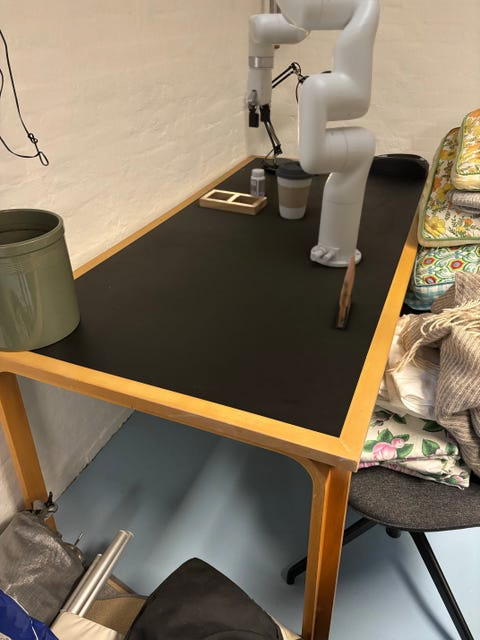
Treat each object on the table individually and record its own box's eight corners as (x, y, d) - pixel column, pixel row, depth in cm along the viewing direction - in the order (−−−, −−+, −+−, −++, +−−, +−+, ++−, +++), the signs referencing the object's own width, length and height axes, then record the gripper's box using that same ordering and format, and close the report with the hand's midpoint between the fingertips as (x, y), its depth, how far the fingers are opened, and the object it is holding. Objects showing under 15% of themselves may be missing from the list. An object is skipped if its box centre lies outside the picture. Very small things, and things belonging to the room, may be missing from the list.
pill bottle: (263, 193, 170) (264, 168, 166) (264, 197, 166) (266, 172, 162) (250, 193, 170) (250, 168, 165) (250, 197, 166) (251, 172, 162)
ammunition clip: (342, 301, 109) (349, 251, 102) (351, 303, 108) (358, 252, 102) (335, 327, 100) (342, 274, 94) (344, 329, 100) (352, 275, 93)
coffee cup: (317, 219, 150) (322, 168, 142) (283, 223, 147) (286, 172, 139) (299, 206, 159) (303, 158, 151) (267, 211, 156) (269, 162, 148)
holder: (254, 215, 152) (254, 207, 151) (199, 206, 159) (199, 198, 157) (266, 204, 160) (266, 197, 159) (213, 196, 167) (213, 189, 165)
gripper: (259, 60, 156) (258, 119, 165) (237, 65, 142) (237, 128, 151) (282, 61, 153) (279, 120, 162) (262, 66, 140) (260, 130, 149)
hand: (259, 124), depth 157 cm, fingers open, 9 cm apart
